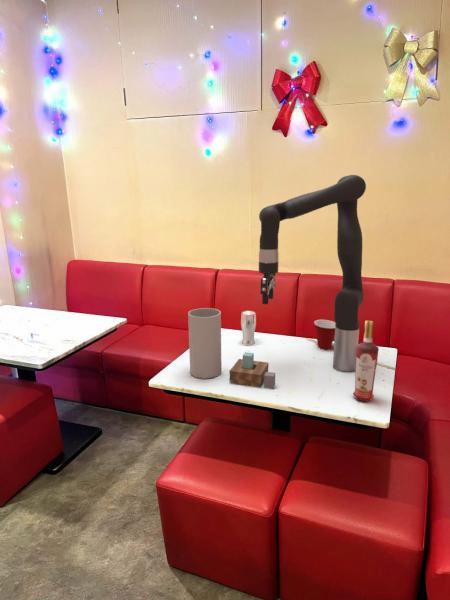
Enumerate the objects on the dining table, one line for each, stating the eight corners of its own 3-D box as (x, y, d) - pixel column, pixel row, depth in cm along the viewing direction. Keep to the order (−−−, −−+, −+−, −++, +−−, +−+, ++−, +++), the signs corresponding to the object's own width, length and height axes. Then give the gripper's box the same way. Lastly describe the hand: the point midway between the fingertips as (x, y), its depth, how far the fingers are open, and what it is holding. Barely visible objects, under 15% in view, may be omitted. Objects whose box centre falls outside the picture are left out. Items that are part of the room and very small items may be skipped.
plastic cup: (336, 353, 189) (337, 327, 186) (311, 350, 192) (312, 325, 189) (338, 344, 199) (339, 320, 196) (314, 342, 202) (315, 318, 199)
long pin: (245, 376, 167) (245, 352, 165) (253, 377, 166) (253, 353, 163) (242, 379, 164) (242, 355, 161) (251, 380, 163) (251, 356, 160)
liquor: (351, 401, 147) (356, 323, 139) (353, 392, 153) (358, 317, 146) (373, 404, 144) (380, 326, 137) (374, 395, 151) (381, 319, 144)
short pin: (275, 385, 159) (275, 372, 158) (273, 389, 156) (273, 376, 155) (266, 383, 160) (266, 371, 159) (264, 387, 157) (264, 375, 156)
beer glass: (254, 346, 198) (254, 315, 194) (239, 345, 199) (239, 314, 196) (256, 341, 205) (256, 311, 201) (242, 340, 206) (242, 310, 202)
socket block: (268, 374, 168) (268, 362, 167) (260, 387, 157) (260, 375, 156) (239, 370, 172) (239, 358, 171) (229, 383, 161) (229, 370, 160)
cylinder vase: (211, 381, 162) (209, 319, 156) (184, 375, 168) (181, 314, 162) (227, 369, 173) (226, 310, 166) (201, 364, 179) (199, 306, 172)
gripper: (263, 257, 171) (263, 296, 175) (254, 262, 158) (253, 305, 162) (282, 257, 168) (281, 297, 173) (274, 263, 155) (273, 306, 160)
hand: (267, 301), depth 167 cm, fingers open, 8 cm apart
